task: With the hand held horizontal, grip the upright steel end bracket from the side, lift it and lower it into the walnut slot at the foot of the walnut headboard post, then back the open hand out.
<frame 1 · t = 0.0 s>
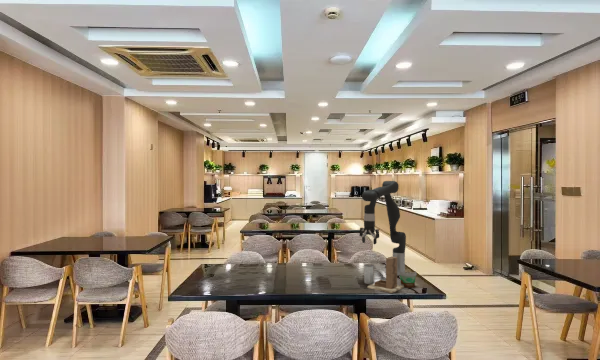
hand: (369, 243, 261), 29 cm above the table, tool pointing down, fingers open, 8 cm apart
food container: (409, 287, 260), on the table
steel end bracket: (368, 282, 269), on the table
walnut headboard post: (383, 287, 258), on the table
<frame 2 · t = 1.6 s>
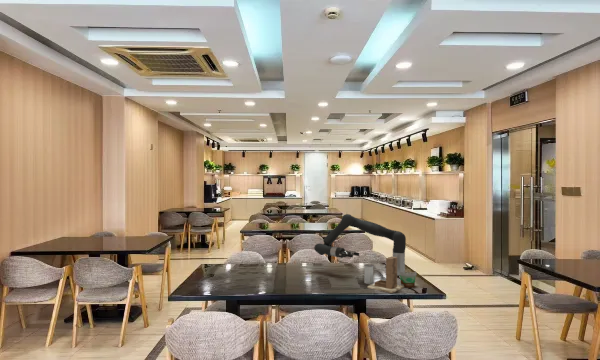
hand: (355, 255, 276), 18 cm above the table, tool horizontal, fingers open, 8 cm apart
nothing on the table moved.
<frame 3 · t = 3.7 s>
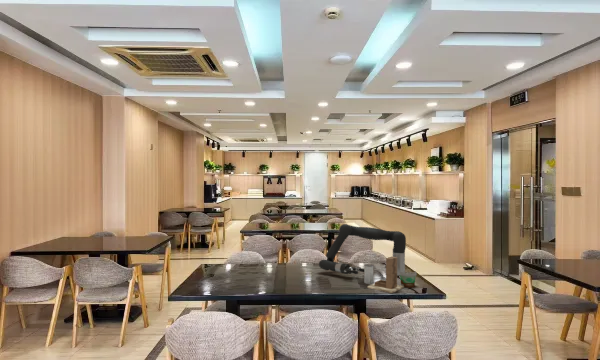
hand: (361, 271, 273), 7 cm above the table, tool horizontal, fingers open, 8 cm apart
nothing on the table moved.
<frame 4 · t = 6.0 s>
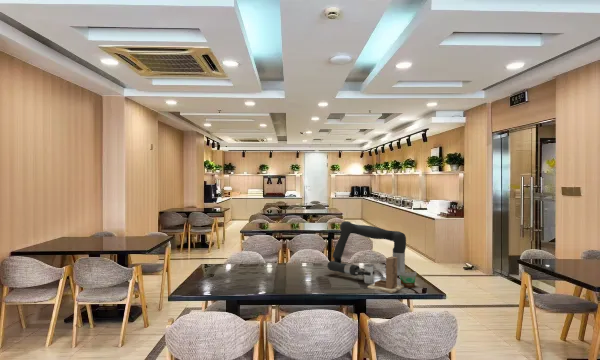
hand: (372, 273, 267), 7 cm above the table, tool horizontal, fingers closed on steel end bracket, 4 cm apart
steel end bracket: (368, 282, 269), on the table, touching gripper
everything else where it was.
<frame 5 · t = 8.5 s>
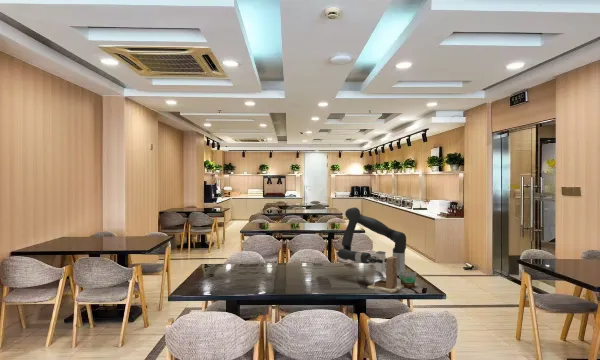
hand: (384, 261, 258), 18 cm above the table, tool horizontal, fingers closed on steel end bracket, 4 cm apart
steel end bracket: (380, 270, 260), point 11 cm above the table, touching gripper
everything else where it was.
when the fingers open (9 cm above the table, at t = 11.2 s): steel end bracket drops 1 cm, resting on walnut headboard post.
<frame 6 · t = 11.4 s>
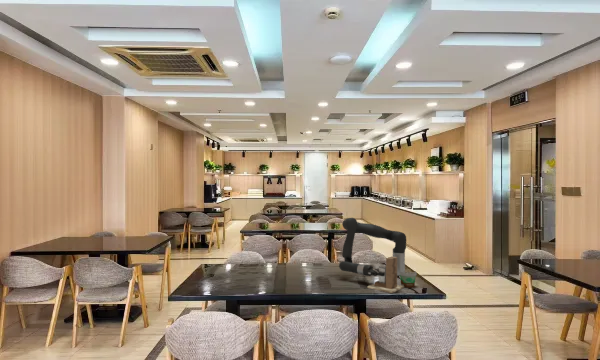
hand: (386, 273, 257), 10 cm above the table, tool horizontal, fingers open, 6 cm apart
steel end bracket: (383, 285, 258), point 1 cm above the table, touching walnut headboard post
everything else where it was.
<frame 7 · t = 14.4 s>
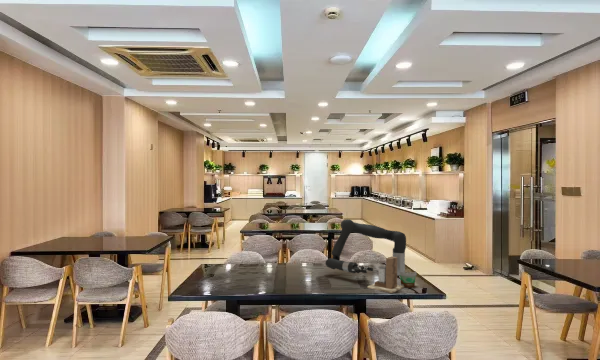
hand: (369, 270, 265), 10 cm above the table, tool horizontal, fingers open, 8 cm apart
nothing on the table moved.
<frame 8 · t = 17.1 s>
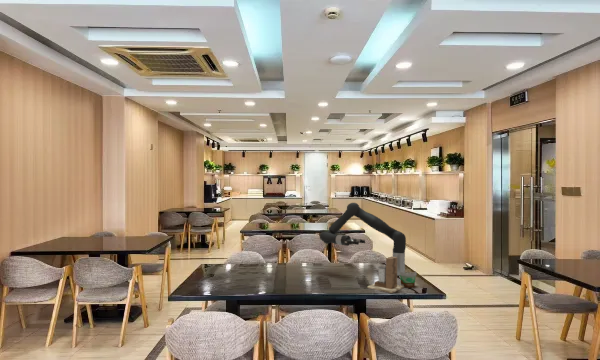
hand: (361, 242, 273), 28 cm above the table, tool horizontal, fingers open, 8 cm apart
nothing on the table moved.
at the end: steel end bracket 0.1 cm off-centre on the walnut headboard post, point 1.0 cm above the walnut headboard post's base; steel end bracket tilted 0°; the gripper is holding nothing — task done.
